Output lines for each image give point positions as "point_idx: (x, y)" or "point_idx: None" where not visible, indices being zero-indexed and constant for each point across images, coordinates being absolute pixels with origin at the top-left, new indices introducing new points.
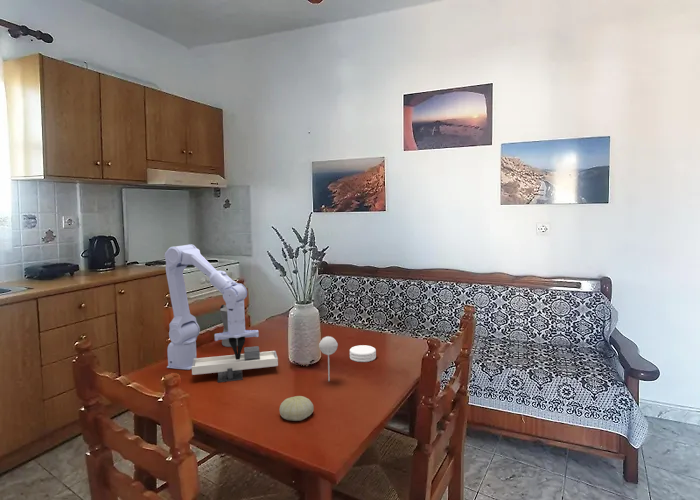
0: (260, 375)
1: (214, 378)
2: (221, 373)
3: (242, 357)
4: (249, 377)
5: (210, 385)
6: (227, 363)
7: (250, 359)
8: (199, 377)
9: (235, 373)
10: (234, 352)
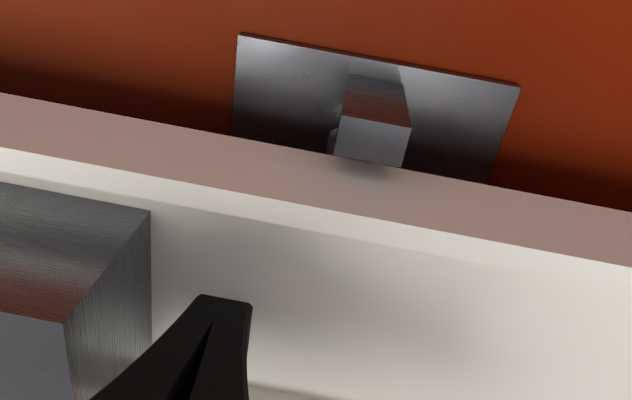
0: (46, 62)
1: None
2: None
3: None
4: (164, 63)
5: (620, 41)
6: (393, 222)
7: (50, 218)
8: None
9: None
10: (242, 382)
